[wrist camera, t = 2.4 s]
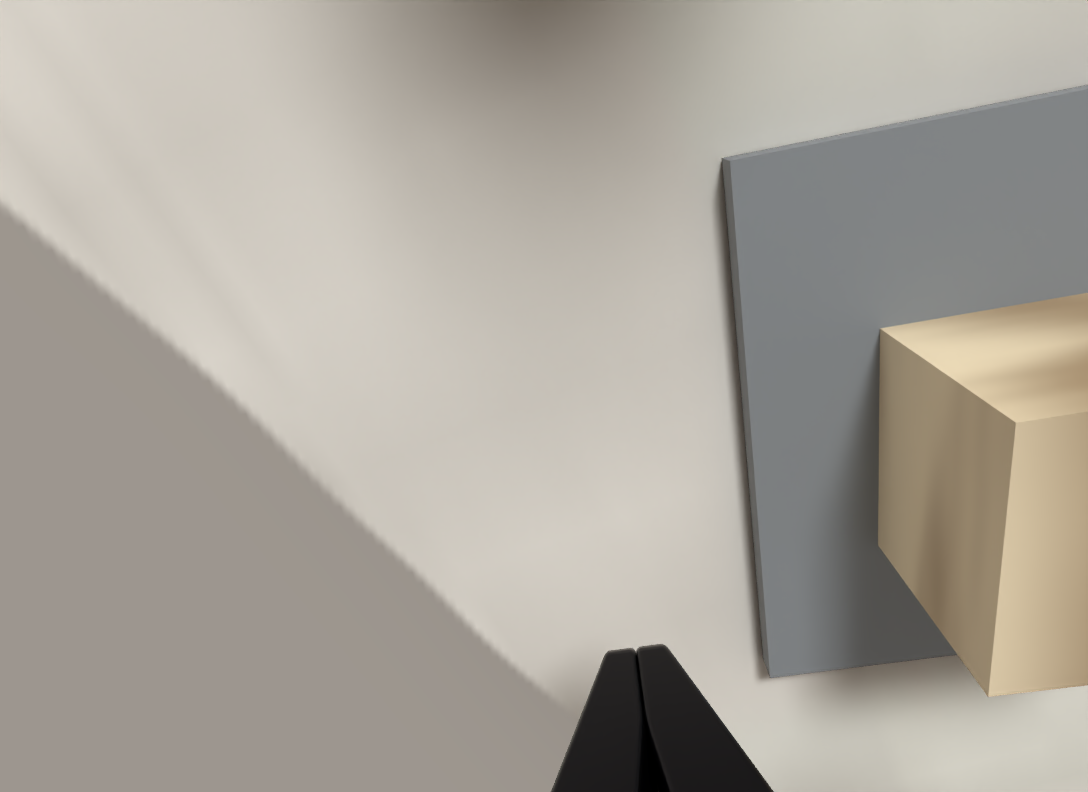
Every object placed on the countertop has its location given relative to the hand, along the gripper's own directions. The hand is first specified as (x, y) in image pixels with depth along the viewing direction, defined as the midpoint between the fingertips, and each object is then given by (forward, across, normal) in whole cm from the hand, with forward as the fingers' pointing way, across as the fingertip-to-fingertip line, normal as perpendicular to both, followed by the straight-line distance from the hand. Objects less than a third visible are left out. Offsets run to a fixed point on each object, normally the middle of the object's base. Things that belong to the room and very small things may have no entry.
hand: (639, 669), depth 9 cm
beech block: (+5, -8, 0) cm, 9 cm away
